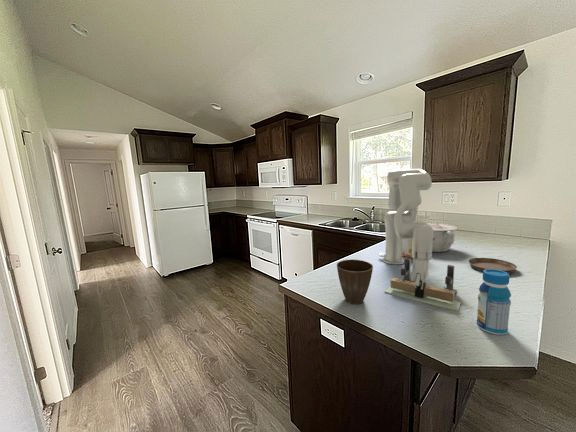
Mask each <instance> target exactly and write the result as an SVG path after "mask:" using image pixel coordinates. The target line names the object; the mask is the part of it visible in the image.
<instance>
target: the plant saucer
mask: <svg viewBox="0 0 576 432" xmlns="http://www.w3.org/2000/svg"><path fill="white" fill-rule="evenodd" d="M468 263H469V265H470V266H471V267H472V268H473V269H475V270H477V271H481V272H483V271H484V270H486V269H495V270H500V271H504V272H506V273H508V274H510V273H513V272H514V271H515V270H516V269H517V268H518V267H517V265H516V264H515V263H513V262H510V261H507V260H503V259H499V258H492V257H491V258H489V257H473V258H470V259H468Z"/></svg>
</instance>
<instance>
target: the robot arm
mask: <svg viewBox="0 0 576 432" xmlns="http://www.w3.org/2000/svg"><path fill="white" fill-rule="evenodd" d="M386 179H387V183H388V186H389V193H388V202H387V203H388V209H389V210H390V211H387V212H386V213H385V214H384V217H383V219H384V228H385V252H384V253H382V252H379V253H378V256H379V257H381V258H382V262H383V263H385V264H389V265H398V266H399V265H403V264H404V259H405V258H403V256H402V239H412V259H413V262H412V269H411V278H410V280H412V281H413V282H415V283H416V284H415V297H419V298H423V297H424V289H423V284H425V285H427V280H428V278H429V272H430V261H433V252H432V244H433V228H432V227H430V226H429V224H428V223H429V222H425V221H420V222H419V221H417V215H418V210H419V206H420V205H421V203H422V197H421V193H420V192H421V191H427V190H430V189H431V187H432V184H433V183H432V181H433V180H432V176H431V175H430V174H429V172H427V171H425V170H424V169H421V168H407V169H404V168H403V169H393V170H390V171H388V173H387V177H386ZM420 284H421V285H420Z"/></svg>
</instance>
